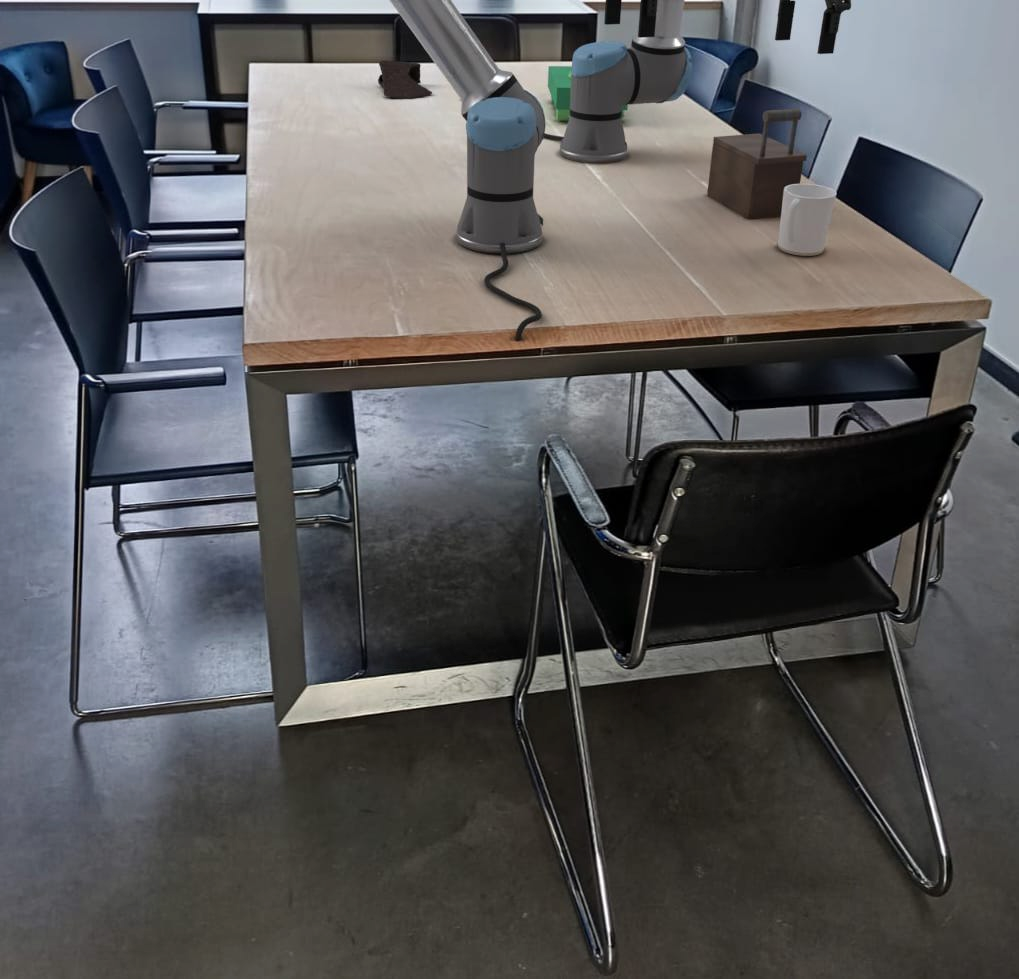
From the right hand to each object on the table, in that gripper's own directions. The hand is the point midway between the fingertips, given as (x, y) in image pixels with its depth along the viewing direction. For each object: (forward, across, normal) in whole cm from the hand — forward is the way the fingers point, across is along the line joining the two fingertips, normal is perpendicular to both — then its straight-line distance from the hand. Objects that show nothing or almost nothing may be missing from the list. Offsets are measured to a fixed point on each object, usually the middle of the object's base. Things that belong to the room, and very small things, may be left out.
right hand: (803, 46), depth 193 cm
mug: (+31, -16, +6) cm, 36 cm away
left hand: (-3, +7, +31) cm, 32 cm away
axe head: (+31, +129, +39) cm, 138 cm away
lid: (+21, +10, 0) cm, 23 cm away
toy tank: (+31, +97, -1) cm, 102 cm away
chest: (+31, +10, 0) cm, 33 cm away
